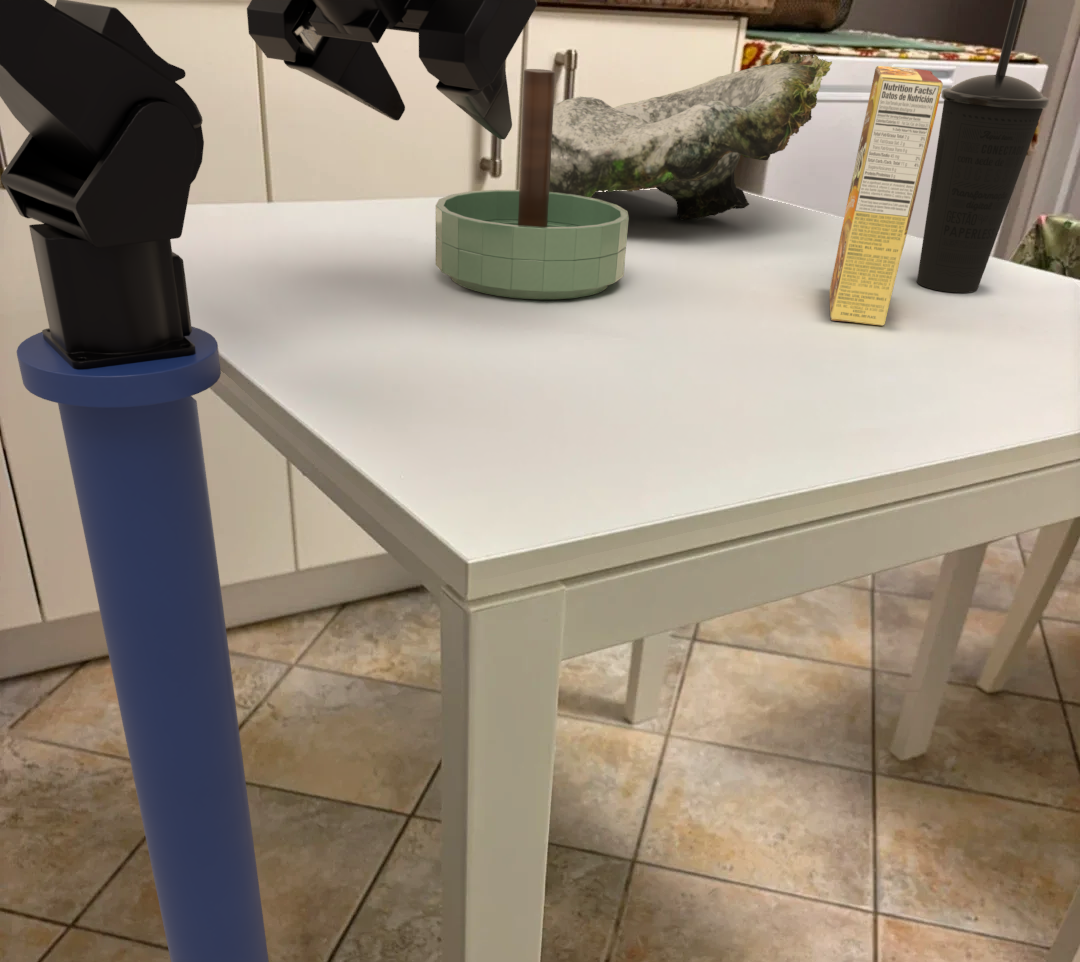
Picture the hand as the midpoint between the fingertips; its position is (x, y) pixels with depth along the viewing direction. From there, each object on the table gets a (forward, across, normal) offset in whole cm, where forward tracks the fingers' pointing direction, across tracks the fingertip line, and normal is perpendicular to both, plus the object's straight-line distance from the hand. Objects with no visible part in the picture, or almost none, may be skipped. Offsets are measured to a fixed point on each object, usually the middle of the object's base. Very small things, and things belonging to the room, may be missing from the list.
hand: (451, 123), depth 71 cm
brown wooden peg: (+15, +1, 0) cm, 15 cm away
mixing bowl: (+15, +1, +1) cm, 15 cm away
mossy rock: (+36, +9, -20) cm, 42 cm away
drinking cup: (+33, -22, -17) cm, 43 cm away
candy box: (+24, -20, -8) cm, 32 cm away
